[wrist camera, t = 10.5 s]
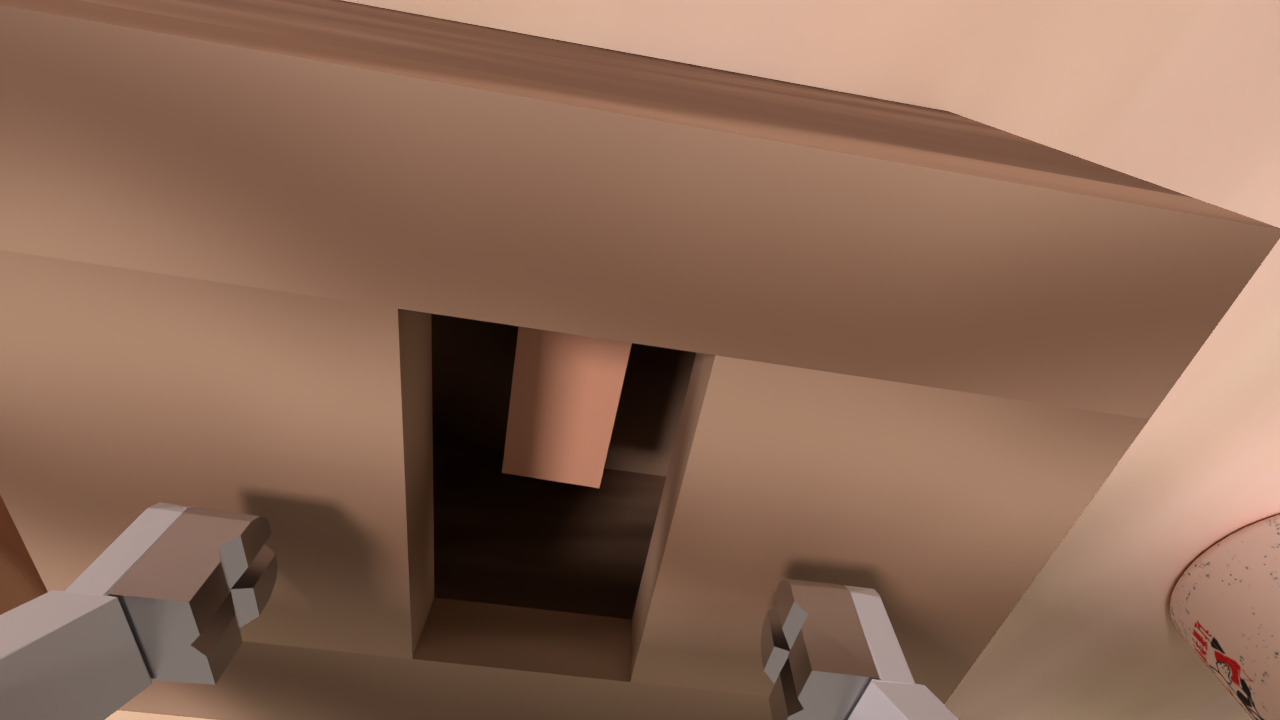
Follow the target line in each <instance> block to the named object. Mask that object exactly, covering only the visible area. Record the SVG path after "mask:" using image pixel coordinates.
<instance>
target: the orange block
mask: <svg viewBox="0 0 1280 720" xmlns="http://www.w3.org/2000/svg"><path fill="white" fill-rule="evenodd" d="M631 345H632V343H628V342H622V341H615V340H608V339H601V338H594V337H588V336H581V335H574V334H567V333H561V332H554V331H547V330H540V329H533V328H527V327H520V326H519V327H518V336H517V345H516V354H515V362H514V371H513V380H512V388H511V397H510V406H509V415H508V423H507V432H506V441H505V450H504V458H503V467H502V473H506V474H512V475H519V476H525V477H531V478H537V479H544V480H550V481H556V482H563V483H569V484H575V485H582V486H588V487H594V488H600V484H601V479H602V475H603V470H604V466H605V461H606V457H607V452H608V448H609V443H610V439H611V434H612V430H613V426H614V421H615V417H616V412H617V408H618V403H619V399H620V394H621V390H622V385H623V381H624V376H625V372H626V367H627V363H628V359H629V354H630V350H631Z"/></svg>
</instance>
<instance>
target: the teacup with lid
mask: <svg viewBox="0 0 1280 720" xmlns="http://www.w3.org/2000/svg"><path fill="white" fill-rule="evenodd" d="M1170 614H1171V618H1172V622H1173V624H1174V626H1175V627H1176V629H1177V630H1178V632H1179V633H1180V634H1181V636H1182V637H1183V638H1184V639H1185V640H1186V641H1187V643H1188V644H1189V645H1190V646H1191V647H1192V649H1193V650H1194V651H1195V652H1196V653H1197V654H1198V656H1199V657H1200V658H1201V659H1202V660H1203V661H1204V663H1205V664H1206V665H1207V666H1208V667H1209V669H1210V670H1211V671H1212V672H1213V673H1214V674H1215V676H1216V677H1217V678H1218V679H1219V680H1220V682H1221V683H1222V684H1223V685H1224V686H1225V687H1226V689H1227V690H1228V691H1229V692H1230V693H1231V694H1232V696H1233V697H1234V698H1235V699H1236V700H1237V702H1238V703H1239V704H1240V705H1241V706H1242V707H1243V709H1244V710H1245V711H1246V712H1247V713H1248V715H1249V716H1250V717H1251V718H1252V719H1253V720H1280V514H1279V515H1276V516H1273V517H1270V518H1267V519H1264V520H1261V521H1259V522H1256V523H1254V524H1251V525H1249V526H1247V527H1245V528H1243V529H1241V530H1239V531H1237V532H1235V533H1233V534H1231V535H1229V536H1228V537H1226V538H1224V539H1222V540H1221V541H1219V542H1218V543H1216V544H1215V545H1213V546H1212V547H1211V548H1209V549H1208V550H1207V551H1205V552H1204V553H1203V554H1202V555H1200V556H1199V557H1198V558H1197V559H1196V560H1195V561H1194V562H1193V563H1192V564H1191V565H1190V566H1189V567H1188V568H1187V569H1186V571H1185V572H1184V573H1183V575H1182V576H1181V577H1180V579H1179V580H1178V582H1177V584H1176V586H1175V588H1174V590H1173V592H1172V596H1171V601H1170Z"/></svg>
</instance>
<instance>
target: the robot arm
mask: <svg viewBox="0 0 1280 720" xmlns="http://www.w3.org/2000/svg"><path fill="white" fill-rule="evenodd" d="M271 534H272V533H271V529H270V525H269V522H268V518H265V517H261V516H255V515H248V514H241V513H235V512H228V511H221V510H214V509H207V508H200V507H191V506H184V505H177V504H169V503H162V502H159V503H157V504H155V505H153V506H151V507H149V508H147V509H146V510H145V511H144V512H143V513H142V514H141V515H140V516H139V517H138V518H137V519H136V520H135V521H134V522H133V523H132V524H131V525H130V526H129V527H128V528H127V529H126V530H125V531H124V532H123V533H122V534H121V535H120V536H119V537H118V538H117V539H116V540H115V541H114V542H113V543H112V544H111V545H110V546H109V547H108V548H107V549H106V550H105V551H104V552H103V553H102V554H101V555H100V556H99V557H98V558H97V559H96V560H95V561H94V562H93V563H92V564H91V565H90V566H89V567H88V568H87V569H86V570H85V571H84V572H83V573H82V574H81V575H80V576H79V577H78V578H77V579H76V580H75V581H74V582H73V583H72V584H71V585H70V586H69V587H68V588H67V589H66V590H65V591H62V590H52V591H50V592H47V593H45V594H43V595H41V596H39V597H37V598H35V599H33V600H31V601H29V602H26V603H24V604H22V605H20V606H18V607H16V608H14V609H12V610H10V611H8V612H5V613H3V614H1V615H0V720H104V719H106V718H107V717H108V716H110V715H111V714H113V713H114V712H115V711H117V710H118V709H119V708H121V707H122V706H123V705H125V704H126V703H127V702H129V701H130V700H131V699H133V698H134V697H136V696H137V695H138V694H140V693H141V692H142V691H144V690H145V689H146V688H148V687H149V686H150V685H152V680H155V681H169V682H183V683H197V684H211V685H216V683H217V682H218V680H219V679H220V677H221V675H222V674H223V672H224V671H225V669H226V668H227V666H228V664H229V663H230V661H231V660H232V658H233V657H234V655H235V654H236V652H237V650H238V649H239V647H240V646H241V644H242V636H241V630H240V628H241V627H243V626H244V625H246V624H247V623H249V622H250V621H252V620H254V619H255V618H257V617H258V616H260V614H261V612H262V611H263V609H264V607H265V606H266V604H267V602H268V601H269V599H270V597H271V594H272V591H273V588H274V585H275V582H276V579H277V567H278V564H277V558H276V554H275V553H274V552H273V551H272V550H271V549H270V548H269V547H268V546H267V545H266V544H265V542H266V541H267V540H268V538H269V537H270V535H271ZM775 597H776V602H777V605H776V606H775V607H773V608H772V609H770V610H768V611H767V614H766V616H765V619H764V622H763V625H762V633H761V657H762V663H763V669H764V672H765V673H766V674H767V675H768V677H769V678H770V679H771V680H772V682H773V683H774V684H775V685H774V687H773V689H772V691H771V694H770V696H769V703H770V709H771V714H772V720H959V719H958V718H957V717H956V716H955V715H954V714H953V713H952V712H951V711H950V710H949V709H948V708H947V707H946V706H945V705H944V704H943V703H942V702H941V701H940V700H939V699H938V698H937V697H936V696H935V695H934V694H933V693H932V692H931V691H930V690H929V689H928V688H927V687H926V686H925V685H920V684H915V681H914V679H913V676H912V674H911V671H910V669H909V667H908V664H907V662H906V659H905V657H904V654H903V652H902V649H901V647H900V644H899V642H898V639H897V637H896V634H895V632H894V629H893V627H892V625H891V622H890V620H889V617H888V615H887V612H886V610H885V607H884V605H883V602H882V600H881V597H880V595H879V594H878V593H877V592H876V590H875V589H871V588H862V587H854V586H845V585H844V586H842V585H840V584H831V583H822V582H812V581H803V580H794V579H783V580H782V581H781V582H780V583H779V585H778V587H777V589H776V592H775Z"/></svg>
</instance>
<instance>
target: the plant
mask: <svg viewBox="0 0 1280 720" xmlns="http://www.w3.org/2000/svg"><path fill="white" fill-rule="evenodd" d="M47 592H48V591H47V589H46V587H45V585H44V583H43V581H42V579H41V577H40V575H39V573H38V571H37V569H36V567H35V565H34V562H33V560H32V558H31V556H30V554H29V552H28V550H27V548H26V546H25V544H24V542H23V540H22V538H21V536H20V534H19V532H18V530H17V528H16V526H15V524H14V522H13V520H12V518H11V515H10V513H9V511H8V509H7V507H6V505H5V503H4V501H3V499H2V497H1V495H0V615H1V614H3V613H5V612H8V611H10V610H12V609H14V608H16V607H18V606H20V605H22V604H24V603H26V602H29V601H31V600H33V599H35V598H37V597H39V596H41V595H43V594H45V593H47Z"/></svg>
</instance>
